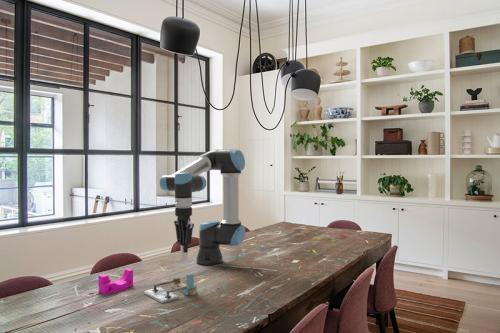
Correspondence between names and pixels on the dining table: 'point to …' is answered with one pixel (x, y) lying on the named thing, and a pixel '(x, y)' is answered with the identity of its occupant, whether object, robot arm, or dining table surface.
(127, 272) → the toy block
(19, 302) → the dining table surface
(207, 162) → the robot arm
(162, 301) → the bolt plate
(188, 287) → the sliding trammel head
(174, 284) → the rail
